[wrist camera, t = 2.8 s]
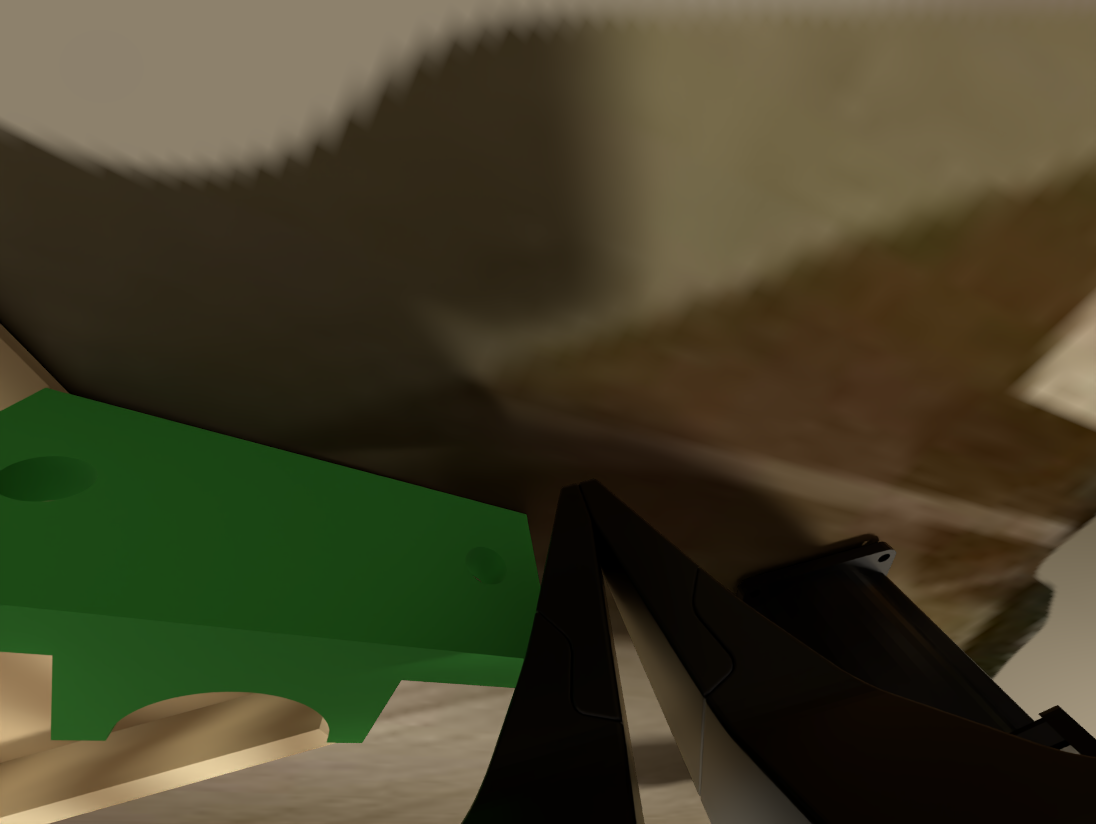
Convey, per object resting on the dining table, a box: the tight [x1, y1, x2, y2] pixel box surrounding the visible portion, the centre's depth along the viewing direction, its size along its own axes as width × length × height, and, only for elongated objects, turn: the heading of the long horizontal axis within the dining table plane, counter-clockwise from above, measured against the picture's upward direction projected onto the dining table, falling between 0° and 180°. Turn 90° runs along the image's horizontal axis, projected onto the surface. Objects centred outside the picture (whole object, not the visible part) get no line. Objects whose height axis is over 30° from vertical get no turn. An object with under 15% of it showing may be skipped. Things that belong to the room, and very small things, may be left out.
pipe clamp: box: [0, 388, 541, 743], centre depth 9 cm, size 11×4×5 cm, turn 61°
